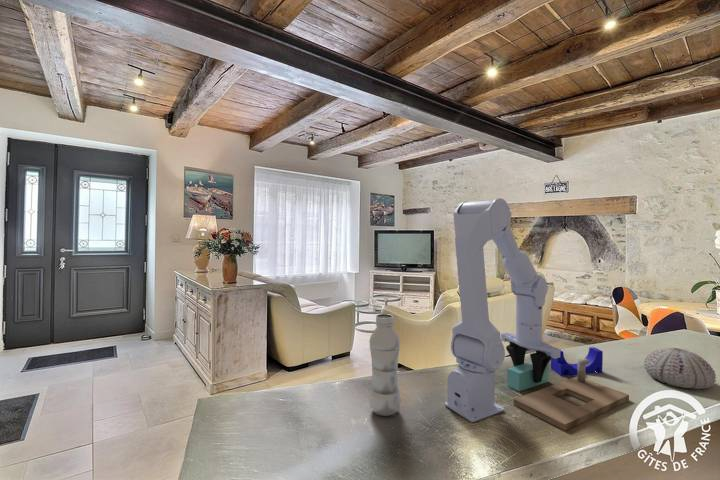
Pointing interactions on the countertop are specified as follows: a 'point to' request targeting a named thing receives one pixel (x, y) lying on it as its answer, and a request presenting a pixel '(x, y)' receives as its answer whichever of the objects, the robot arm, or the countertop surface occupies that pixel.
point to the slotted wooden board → (567, 413)
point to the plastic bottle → (384, 367)
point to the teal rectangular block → (524, 377)
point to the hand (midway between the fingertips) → (528, 377)
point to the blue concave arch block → (571, 369)
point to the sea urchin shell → (680, 368)
